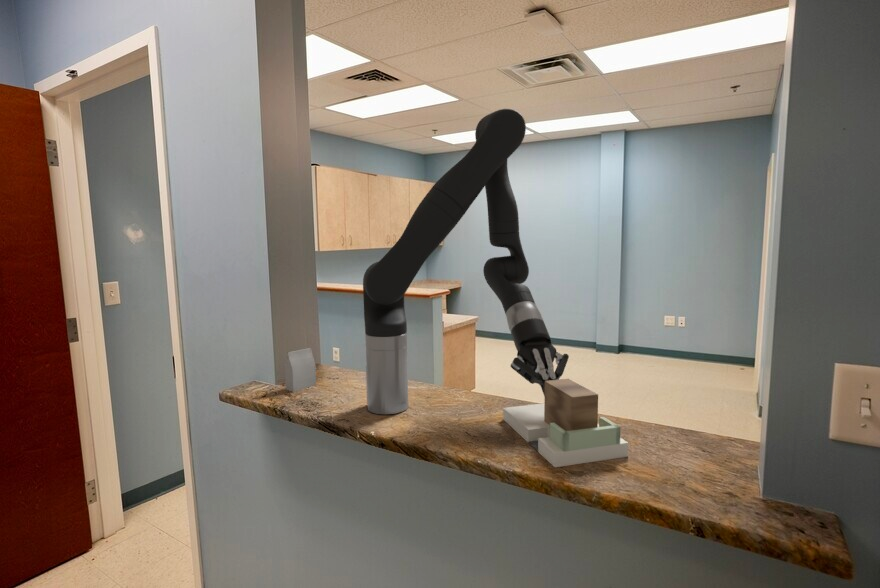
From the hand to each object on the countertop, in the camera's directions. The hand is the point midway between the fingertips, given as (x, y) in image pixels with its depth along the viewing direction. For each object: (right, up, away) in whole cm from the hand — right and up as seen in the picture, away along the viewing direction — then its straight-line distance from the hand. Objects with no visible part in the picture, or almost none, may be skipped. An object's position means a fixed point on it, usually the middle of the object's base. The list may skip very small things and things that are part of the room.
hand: (554, 399), depth 91 cm
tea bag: (-59, -4, +31) cm, 66 cm away
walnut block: (+2, -4, -5) cm, 7 cm away
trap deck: (+1, -7, -2) cm, 7 cm away
